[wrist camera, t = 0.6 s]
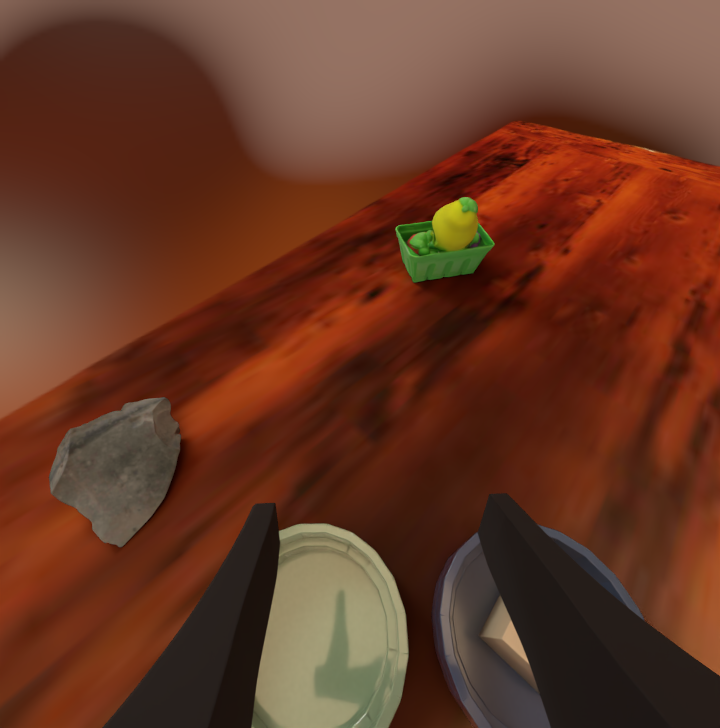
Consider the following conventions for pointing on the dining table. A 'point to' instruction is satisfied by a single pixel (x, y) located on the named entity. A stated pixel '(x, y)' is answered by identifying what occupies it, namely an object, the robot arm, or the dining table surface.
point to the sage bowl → (331, 635)
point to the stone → (118, 467)
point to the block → (506, 641)
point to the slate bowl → (477, 659)
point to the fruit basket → (444, 243)
